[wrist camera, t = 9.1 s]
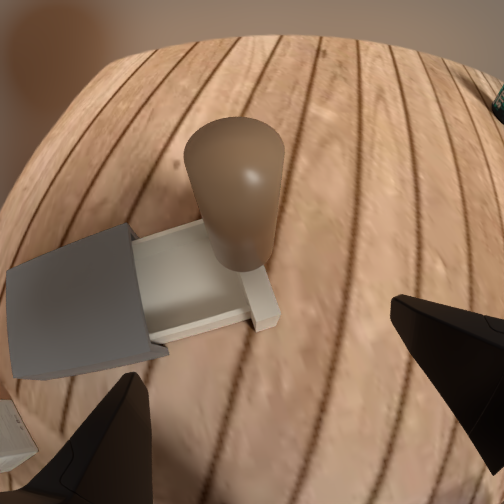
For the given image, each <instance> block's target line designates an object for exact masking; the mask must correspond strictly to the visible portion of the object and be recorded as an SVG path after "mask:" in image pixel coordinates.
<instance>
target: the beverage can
mask: <svg viewBox="0 0 504 504" xmlns="http://www.w3.org/2000/svg"><path fill="white" fill-rule="evenodd" d="M492 110H493V112H494V114H495V115H496V117H497V118H498V119H499V120H500V121H501V122H502V123H503V124H504V85H503V87H502V88H501V90H500V92H499V93H498V95H497V97H496V98H495V100H494V102H493V103H492Z"/></svg>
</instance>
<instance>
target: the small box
mask: <svg viewBox="0 0 504 504" xmlns="http://www.w3.org/2000/svg"><path fill="white" fill-rule="evenodd" d="M38 451H39V450H38V448H37V447H36V445H35V443H34V441H33V440H32V438H31V436H30V434H29V433H28V431H27V429H26V427H25V425H24V423H23V421H22V420H21V418H20V416H19V414H18V412H17V410H16V408H15V406H14V404H13V402H12V400H5V399H0V473H2V472H7V471H11V470H12V469H14V468H16V467H17V466H19V465H20V464H22V463H23V462H24V461H26V460H27V459H29V458H30V457H32V456H33V455H34V454H36V453H37V452H38Z"/></svg>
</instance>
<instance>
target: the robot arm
mask: <svg viewBox="0 0 504 504" xmlns="http://www.w3.org/2000/svg"><path fill="white" fill-rule="evenodd" d="M390 319H391V322H392V324H393V326H394V327H395V329H396V330H397V332H398V334H399V335H400V337H401V339H402V340H403V342H404V344H405V345H406V347H407V349H408V350H409V352H410V354H411V355H412V356H413V358H414V359H415V360H416V362H417V363H418V364H419V366H420V367H421V369H422V370H423V371H424V373H425V374H426V375H427V377H428V378H429V379H430V381H431V382H432V384H433V385H434V386H435V388H436V389H437V391H438V392H439V393H440V395H441V396H442V398H443V399H444V401H445V402H446V403H447V405H448V406H449V408H450V409H451V411H452V412H453V414H454V415H455V417H456V418H457V420H458V421H459V423H460V424H461V426H462V427H463V429H464V430H465V432H466V433H467V435H468V437H469V438H470V440H471V441H472V443H473V444H474V446H475V448H476V449H477V451H478V452H479V454H480V456H481V457H482V459H483V460H484V462H485V464H486V465H487V467H488V469H489V470H490V472H491V474H492V475H493V476H494V475H495V474H496V473H498V472H499V471H500V470H501V469H502V468H503V467H504V320H503V319H499V318H495V317H490V316H487V315H482V314H478V313H475V312H471V311H467V310H463V309H459V308H455V307H451V306H447V305H443V304H439V303H435V302H431V301H427V300H423V299H419V298H415V297H411V296H407V295H403V294H400V295H398V296H395V297H393V298H392V300H391V311H390ZM0 504H153V493H152V430H151V419H150V408H149V395H148V390H147V388H146V386H145V385H144V383H143V381H142V380H141V378H140V377H139V375H138V374H137V373H136V372H130V373H125V374H124V375H123V376H122V377H121V378H120V380H119V381H118V382H117V383H116V384H115V385H114V387H113V388H112V389H111V390H110V391H109V392H108V394H107V395H106V396H105V397H104V398H103V400H102V401H101V402H100V403H99V404H98V405H97V407H96V408H95V409H94V410H93V411H92V413H91V414H90V415H89V416H88V417H87V419H86V420H85V421H84V422H83V423H82V425H81V426H80V427H79V428H78V429H77V431H76V432H75V433H74V434H73V435H72V437H71V438H70V440H68V441H67V443H66V444H65V445H64V446H63V447H62V448H61V450H60V451H59V452H58V453H57V454H56V455H55V457H54V458H53V459H52V460H51V461H50V462H49V463H48V464H47V465H46V466H45V467H44V468H43V469H42V470H41V471H40V472H39V473H38V474H37V475H36V476H35V477H34V478H33V479H32V480H31V481H30V482H29V483H28V484H27V485H25V486H24V487H22V488H20V489H18V490H14V491H6V492H0ZM501 504H504V501H503V502H502V503H501Z"/></svg>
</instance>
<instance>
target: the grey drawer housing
mask: <svg viewBox="0 0 504 504" xmlns="http://www.w3.org/2000/svg"><path fill="white" fill-rule="evenodd" d="M137 239H140V238H139V237H138V236H137V235H136V234H135V232H134V231H133V230H132V228H131V227H130V226H129V225H128V223H124V224H121V225H118V226H115V227H113V228H110V229H107V230H104V231H102V232H99V233H96V234H94V235H91V236H88V237H86V238H83V239H81V240H78V241H75V242H73V243H70V244H68V245H65V246H63V247H60V248H58V249H56V250H53V251H51V252H48V253H46V254H43V255H41V256H39V257H36V258H34V259H32V260H29V261H27V262H25V263H23V264H20V265H18V266H16V267H14V268H11V269H9V270H7V271H6V314H7V331H8V342H9V352H10V359H11V367H12V373H13V378H19V379H31V380H50V379H56V378H63V377H69V376H74V375H80V374H85V373H91V372H96V371H101V370H106V369H111V368H116V367H120V366H125V365H130V364H134V363H138V362H143V361H147V360H151V359H155V358H159V357H163V356H167V355H169V352H168V348H166V347H162V346H159V345H155V344H151V341H150V337H149V333H148V328H147V324H146V320H145V315H144V310H143V305H142V300H141V295H140V290H139V285H138V279H137V273H136V267H135V261H134V255H133V248H132V241H134V240H137Z"/></svg>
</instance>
